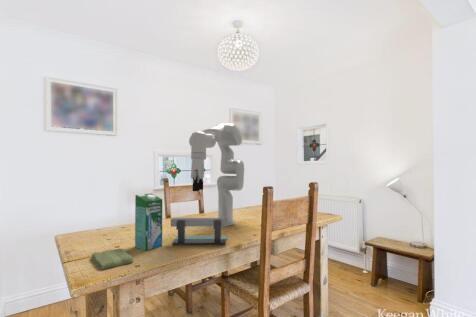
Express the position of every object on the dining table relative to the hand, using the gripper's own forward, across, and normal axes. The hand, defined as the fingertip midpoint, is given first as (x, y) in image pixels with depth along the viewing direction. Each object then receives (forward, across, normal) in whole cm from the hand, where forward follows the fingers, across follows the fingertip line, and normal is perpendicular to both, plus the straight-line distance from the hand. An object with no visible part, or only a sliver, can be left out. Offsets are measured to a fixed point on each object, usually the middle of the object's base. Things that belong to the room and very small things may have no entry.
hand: (198, 190), depth 133 cm
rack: (+26, +1, +1) cm, 27 cm away
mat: (+26, -7, +1) cm, 27 cm away
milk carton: (+27, +7, -22) cm, 36 cm away
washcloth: (+28, +25, -30) cm, 48 cm away
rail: (+18, +1, +1) cm, 18 cm away
